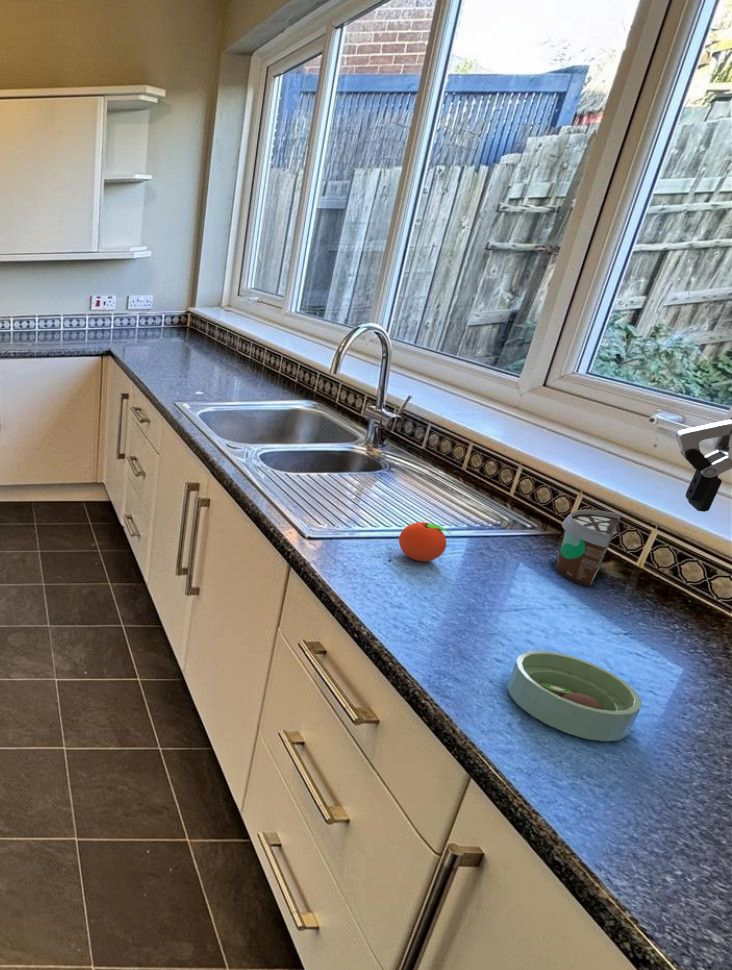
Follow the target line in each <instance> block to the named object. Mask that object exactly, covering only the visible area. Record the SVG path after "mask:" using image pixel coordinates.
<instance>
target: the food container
mask: <svg viewBox="0 0 732 970" xmlns="http://www.w3.org/2000/svg"><path fill="white" fill-rule="evenodd" d="M621 517H622V514H621V513H616V512H611V511H606V510H597V509H578V510H573V511H572V512H571V513H570V514H568V515H567V516H566V518H565V519H564V520H563V521H562V523H561V527H562V528H563V530H564V535H563V539H562V543H561V546H560V550H559V554H558V558H557V562H556V565H555V569H556V571H557V572H558V573H559V574H561V576H563V577H565V578H567V579H569V580H571V581H573V582H575V583H578V584H580V585H583V586H585V587H589V588H590V587H591V585H592V584H593V581H594V579H595V577H596V575H597V573H598V572H599V570H600V568H601V565H602V563H603V561H604V558H605V555H606V553H607V550H608V548H609V546H610V543H611V541H612V539H613V536H614V534H615V531H616V529H617V527H618V524H619V522H620V519H621Z"/></svg>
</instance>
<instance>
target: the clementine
mask: <svg viewBox="0 0 732 970" xmlns="http://www.w3.org/2000/svg"><path fill="white" fill-rule="evenodd" d="M443 531H445V532H446V533H448V534H450V535H451V536H452V540H453V541H455V540H454V536H453V535H452V534H451V532H450V531H449V530H447V529H446V528H445V527H443V526H441V525H438V524H437V525H436V524H433V523H430V522H426V521H419V522H414V523H411V524H409V525H407V526H405V527H404V528H403V529H402V530H401V531H400V534H399V536H398V544H399V548H400V549H401V551H402V552H403V554H404V555H406V556H407V557H408V558H410V559H412V560H414V561H418V562H431V561H434V560H436V559H438V558H440V557H441V556H442V555H444V553H445V550H446V549H447V538H446V535H445V534H444V532H443Z"/></svg>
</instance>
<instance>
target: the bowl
mask: <svg viewBox="0 0 732 970" xmlns="http://www.w3.org/2000/svg"><path fill="white" fill-rule="evenodd" d="M514 663H515V664H514V666H513V669H512V671H511V673H510V677H509V679H508V682H507V685H506V687H507V691H508V694H509V696H510V697H511V699H512V700H513V701H514V702H515V703H516V705H518V706H519V707H520V708H521V709H523V710H524V712H526V713H527V714H529V715H530V716H531V717H533V718H535V719H536V720H538V721H540V722H541V723H544V724H546V725H547V726H550V727H552V728H554V729H556V730H558V731H561V732H563V733H566V734H568V735H571V736H574V737H578V738H582V739H584V740H585V739H586V740H592V741H600V742H615V741H620V740H622V739H623V738H625V737H627V736H628V735H629V734H630V731H631V729H632V727H633V725H634V723H635V721H636V719H637V717H638V714H639V712H640V710H641V708H642V703H643V702H642V699H641V698H640V696H639V694H638V692H637V691H636V690H635V689H634V688H633V687H632V686H631V685H629V684H628V683H627V682H626V681H625V680H624V679H622V678H620V676H618V675H615V674H614V673H612V672H611V671H609V670H607V669H605V668H603V667H601V666H599V665H598V664H597V665H596V664H594V663H592V662H590V661H587V660H584V659H581V658H578V657H576V656H573V655H568V654H564V653H560V652H555V651H548V650H528V651H526V652H523V653H521V654H519V655H518V656H517V658H516V661H515V662H514ZM541 682H542V683H549V684H553V685H557V686H560V687H563V688H566V689H569V690H571V691H573V692H574V693H581V694H584V695H588V696H590V697H592V698H594V699H595V700H596V701H597V702H598V703H599V704H600V705H601V707H602V708H603V709H604V710H601V709H595V708H591V707H588V706H584V705H580V704H577V703H575V702H572V701H570V700H567V699H565V698H562V697H560V696H558V695H556V694H554V693H552V692H551V691H549V690H547V689H545V688H543V687H542V686H541V685H539V683H541Z"/></svg>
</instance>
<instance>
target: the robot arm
mask: <svg viewBox="0 0 732 970" xmlns="http://www.w3.org/2000/svg"><path fill="white" fill-rule="evenodd" d="M675 437H676V440H677V444H678V446H679V449H680V454H681V456H682V457H683V458H684V459H685V460H686V461H687V462H688V463H689V464H690V465H691V466H692V468H693V469H694V470H695V472H694V474H693V475H692V478H691V481H690V483H689V486H688V487H687V490H686V492H685V498H686V499H687V503H689V505H691V506H692V507H693V508H694V510H696V511H698V512H704V513H706V512H709V511H710V509H711V507H712V504H713V502H714V500H715V498H716V497H717V494H718V492H719V489H720V487H721V485H722V483H723V481H722V479H721V478H720V477H719V475H721V474H723V473H726V472H727V471H730V470H732V405H731V406H730V408H729V409H728V411H727V413H726V415H725V417H724V418H723V419H722V420H721V421H717V422H712V423H707V424H703V425H698V426H694V427H689V428H685V429H680V430H678V431H677V432H676V433H675ZM710 439H713V440H712V448H713V449H714V451H711V452H710V453H708V454H706V455H704V454H703V453H702V452H701V449H700V443H701V442H702V441H706V440H710Z"/></svg>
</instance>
